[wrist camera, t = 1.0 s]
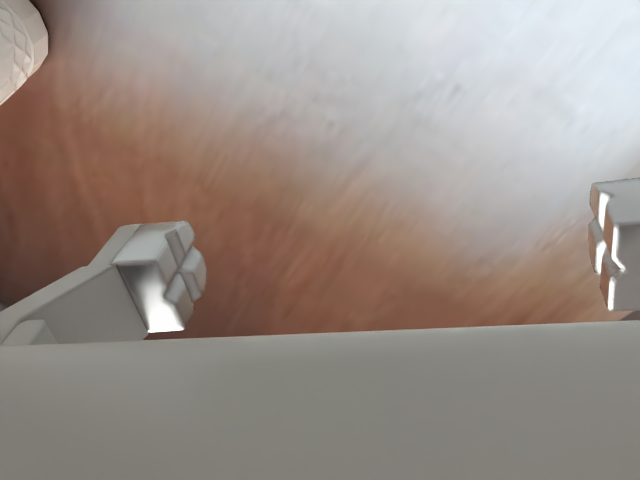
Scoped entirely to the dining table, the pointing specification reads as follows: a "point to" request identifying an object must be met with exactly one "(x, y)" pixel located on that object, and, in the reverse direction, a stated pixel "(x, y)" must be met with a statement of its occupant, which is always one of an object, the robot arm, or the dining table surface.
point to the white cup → (20, 44)
